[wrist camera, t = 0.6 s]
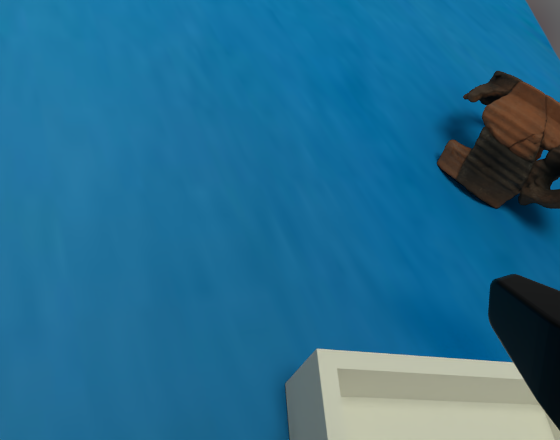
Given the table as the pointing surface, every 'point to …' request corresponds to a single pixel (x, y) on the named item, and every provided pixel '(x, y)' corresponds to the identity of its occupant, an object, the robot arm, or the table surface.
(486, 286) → the table surface
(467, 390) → the gray and white box
